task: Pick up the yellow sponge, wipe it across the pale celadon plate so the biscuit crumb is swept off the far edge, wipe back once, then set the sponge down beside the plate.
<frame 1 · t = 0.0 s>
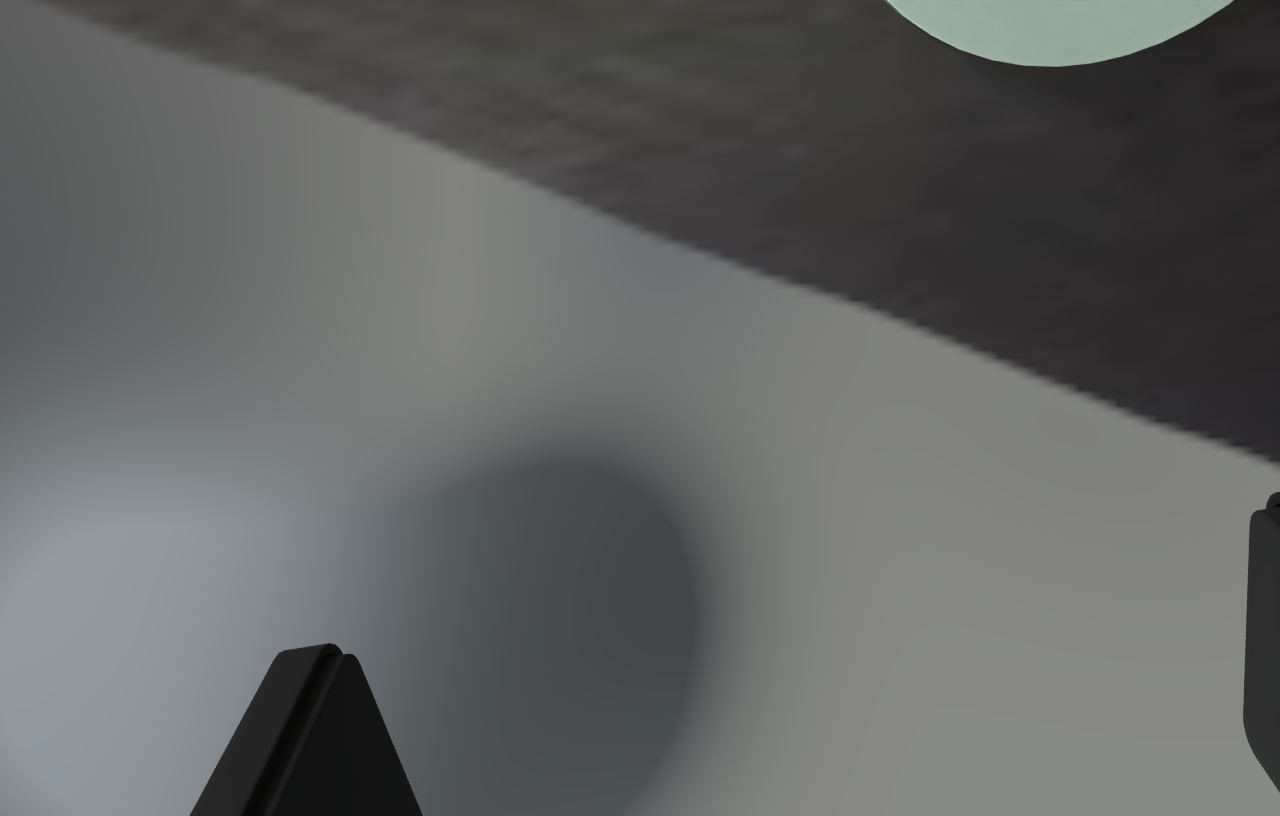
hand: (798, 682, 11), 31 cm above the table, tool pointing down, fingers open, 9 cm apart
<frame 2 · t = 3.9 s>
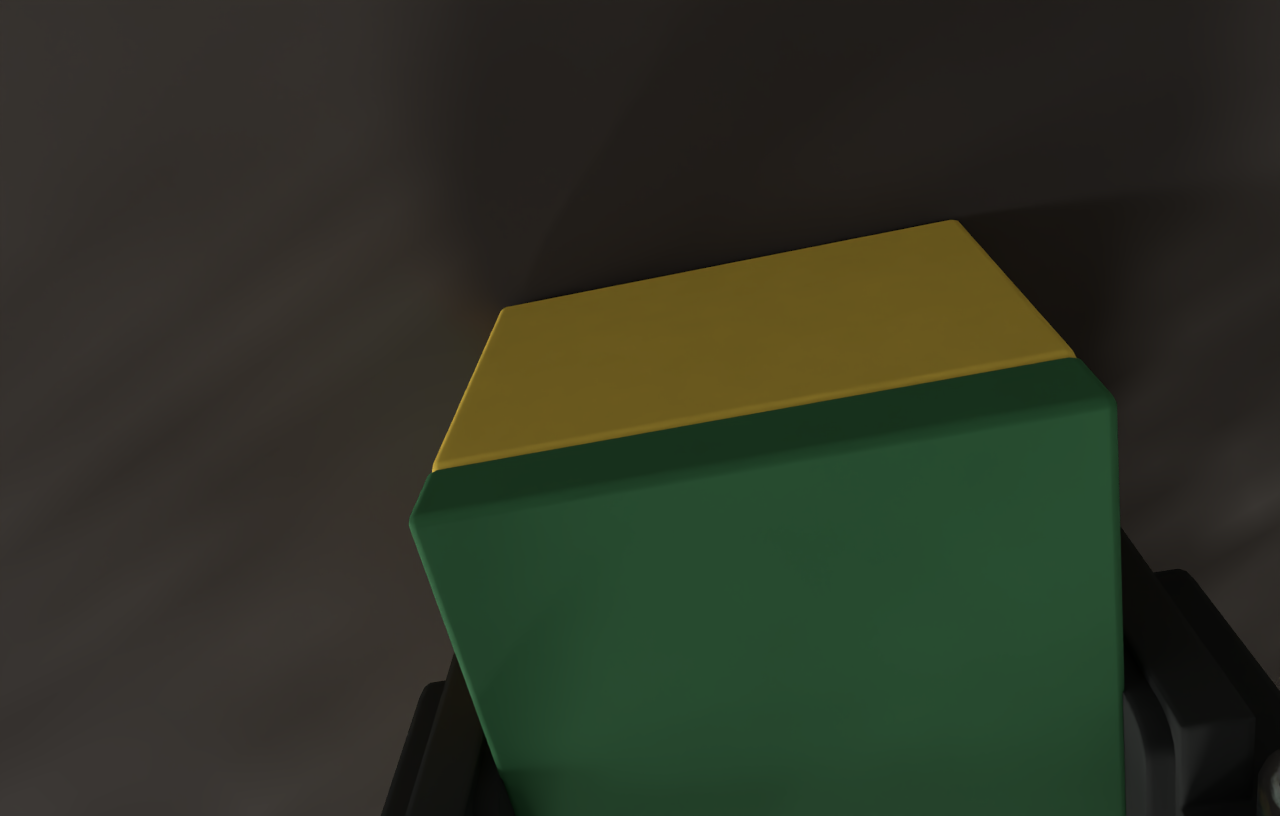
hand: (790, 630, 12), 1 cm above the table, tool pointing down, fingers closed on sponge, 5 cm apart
sponge: (780, 567, 13), on the table, touching gripper
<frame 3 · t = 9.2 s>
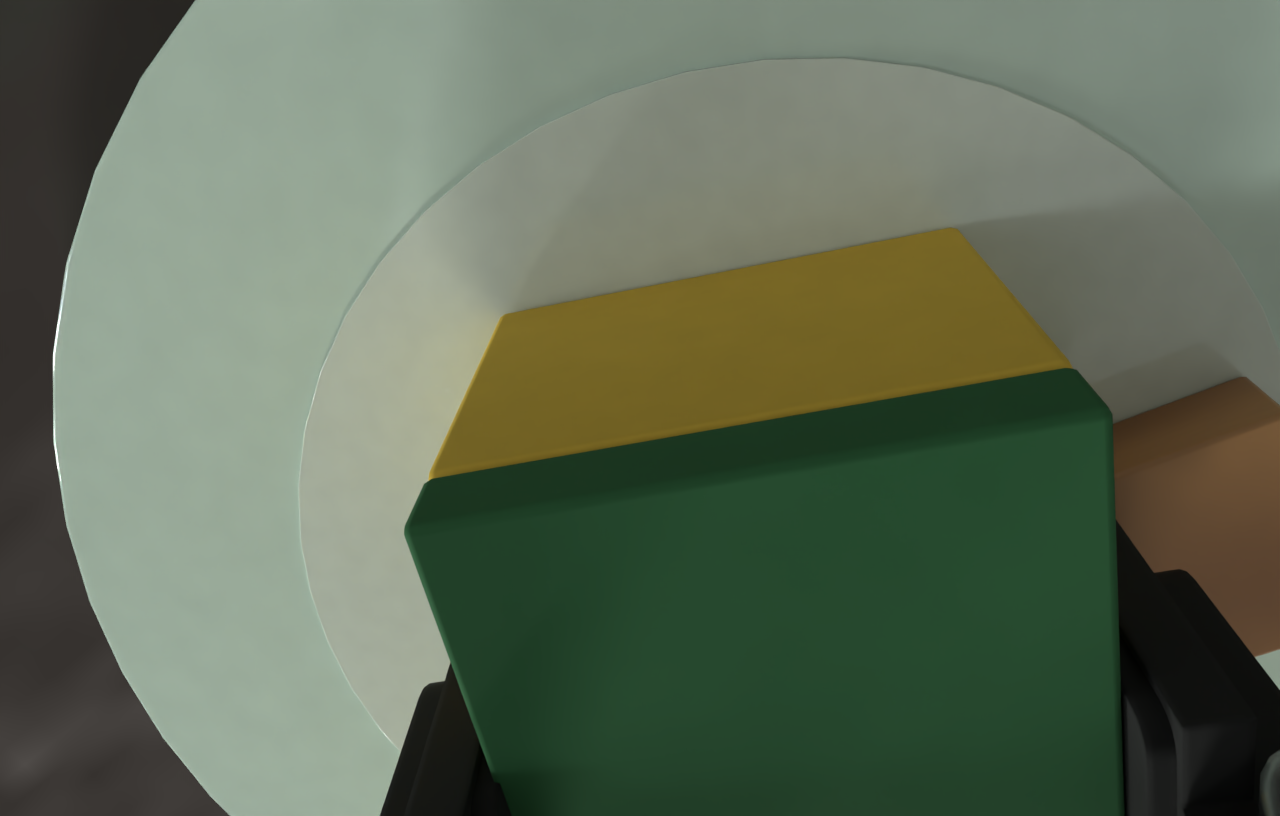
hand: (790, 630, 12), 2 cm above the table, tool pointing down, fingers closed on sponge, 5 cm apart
plate: (776, 515, 14), on the table
sponge: (780, 574, 13), point 1 cm above the table, touching crumb, gripper, plate
crumb: (1142, 526, 12), point 1 cm above the table, touching gripper, sponge
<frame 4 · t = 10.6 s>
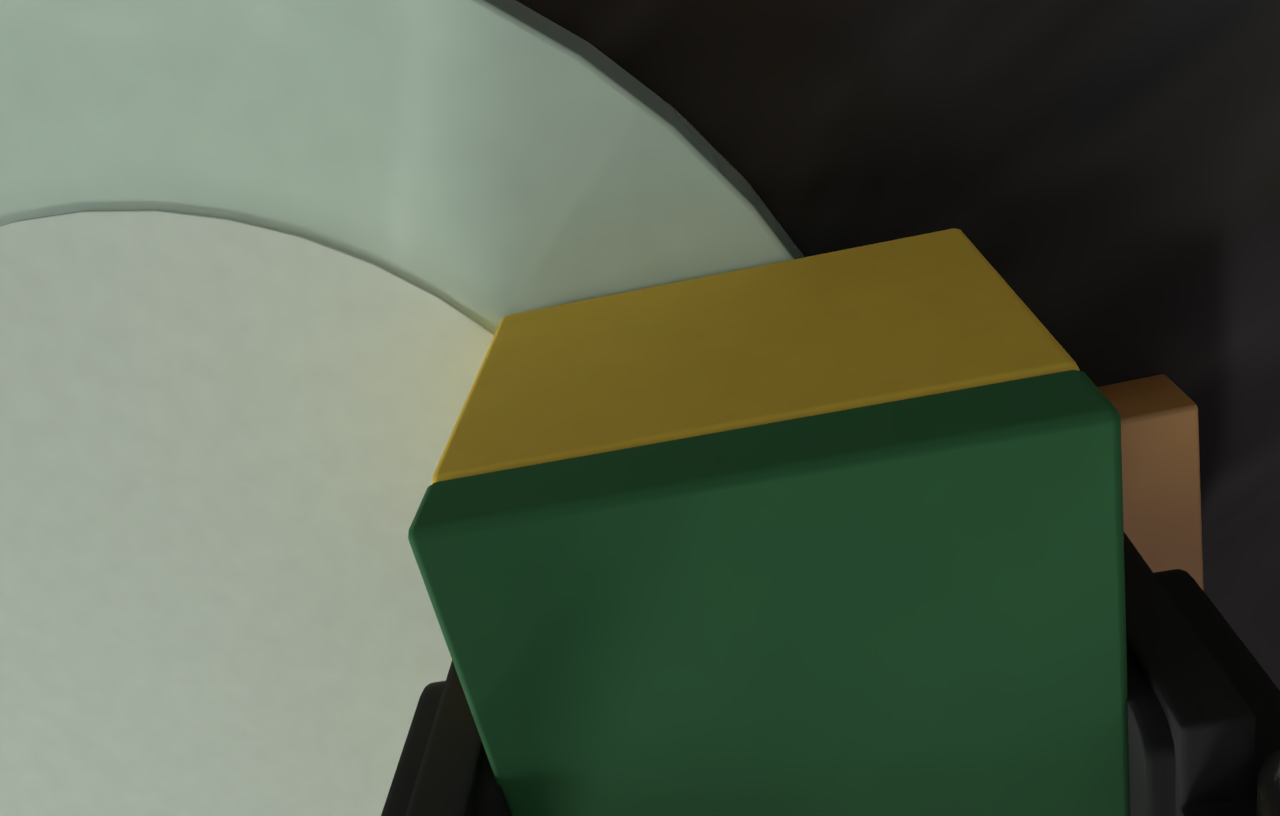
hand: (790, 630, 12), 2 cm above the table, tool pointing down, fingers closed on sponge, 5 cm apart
plate: (260, 602, 15), on the table
sponge: (782, 576, 13), point 1 cm above the table, touching gripper
crumb: (1051, 496, 14), on the table
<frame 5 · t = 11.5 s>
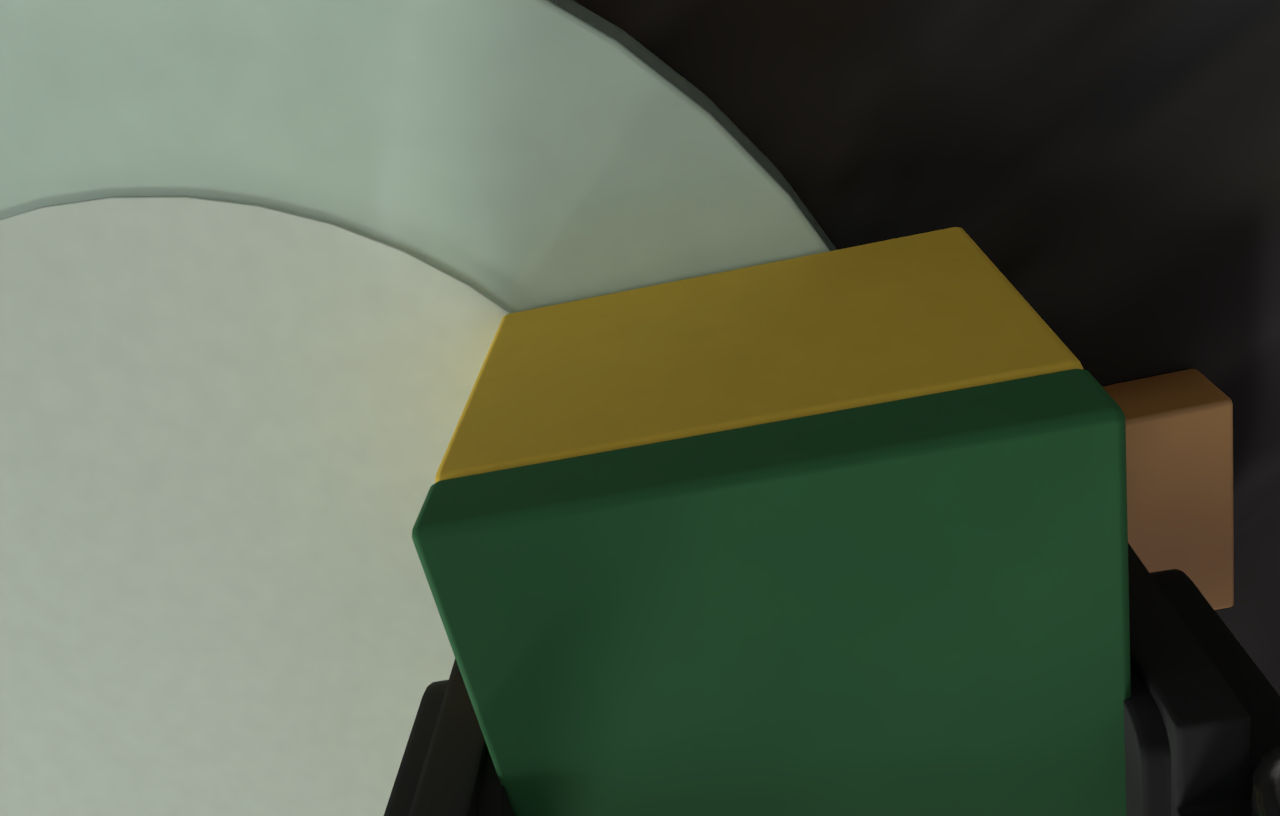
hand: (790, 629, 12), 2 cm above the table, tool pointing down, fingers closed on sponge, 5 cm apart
plate: (279, 594, 15), on the table
sponge: (782, 574, 13), point 1 cm above the table, touching gripper, plate
crumb: (1079, 491, 14), on the table
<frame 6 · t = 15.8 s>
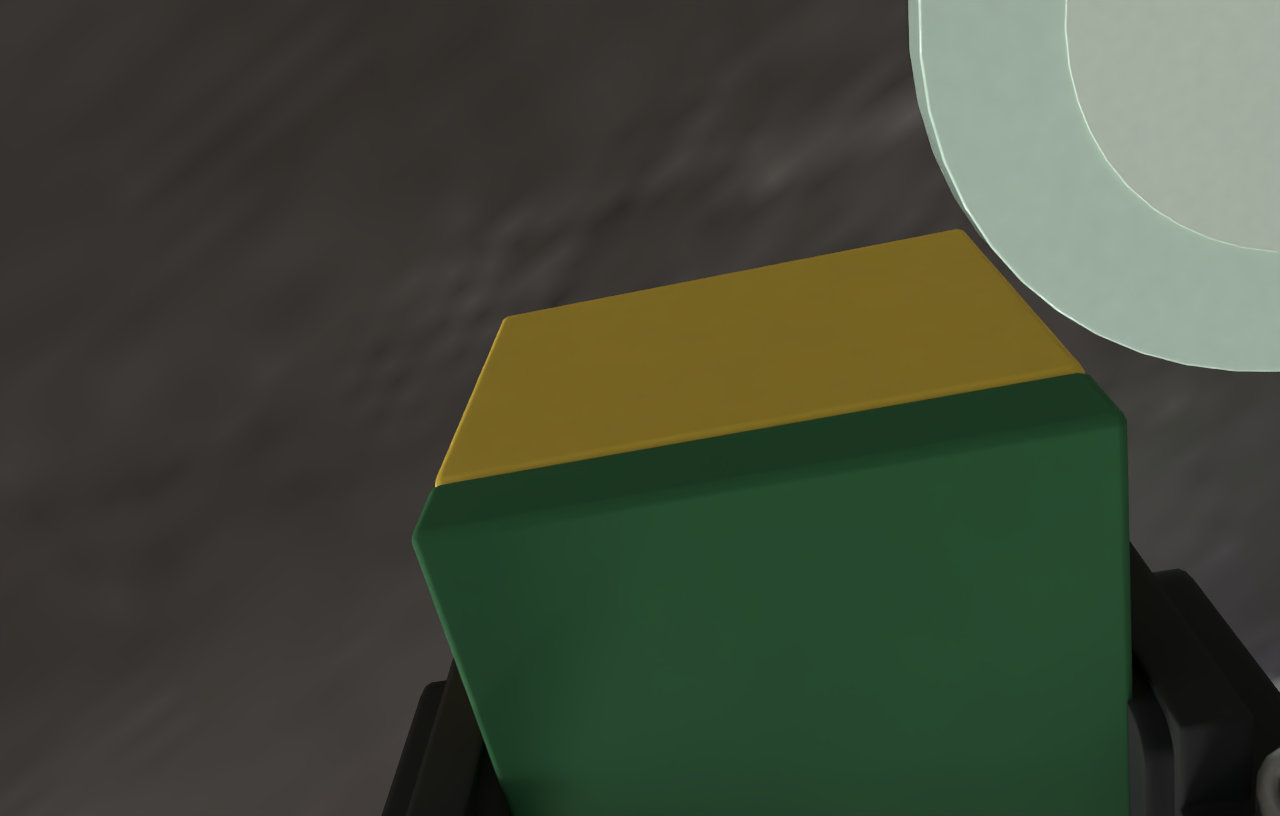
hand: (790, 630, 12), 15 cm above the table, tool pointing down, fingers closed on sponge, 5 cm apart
sponge: (784, 577, 13), point 14 cm above the table, touching gripper
when the fingers open (1 cm above the table, at t = 19.2 s): sponge stays where it is, on the table.
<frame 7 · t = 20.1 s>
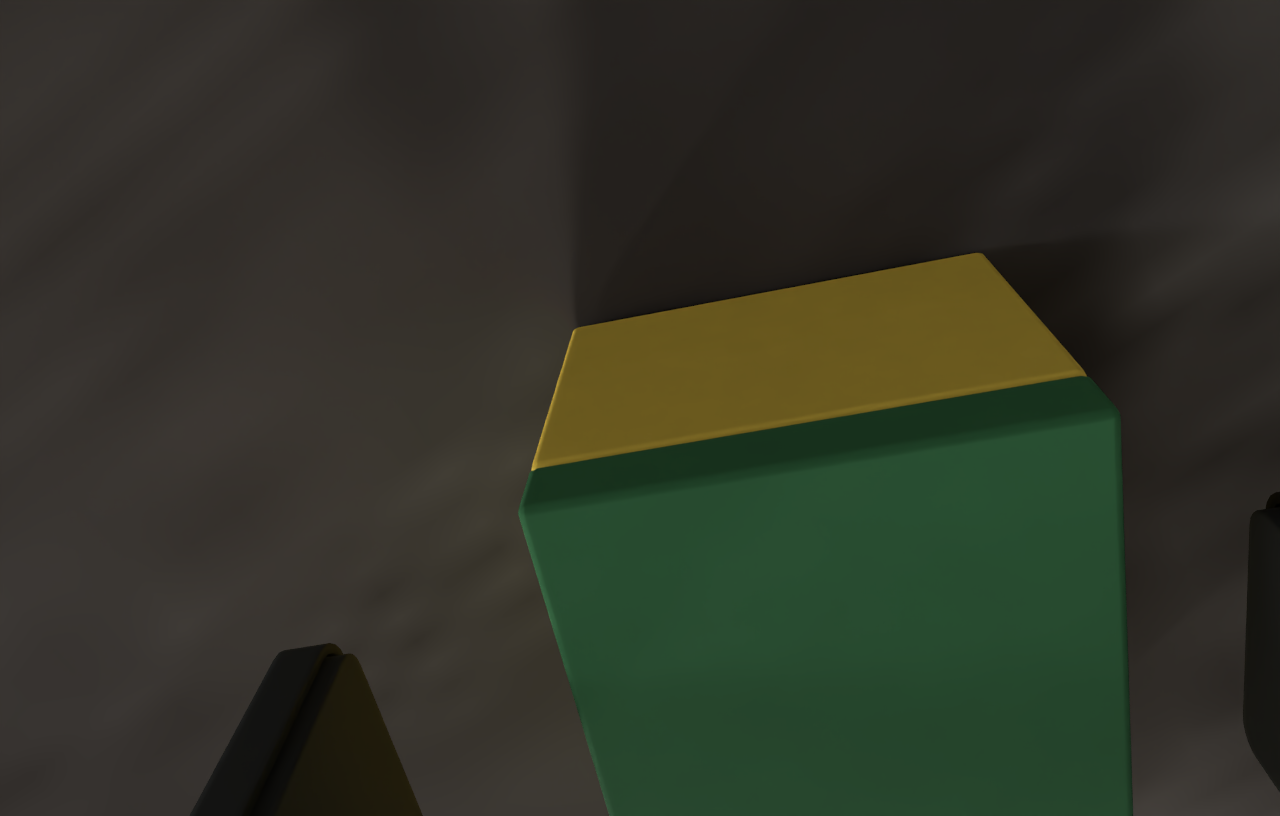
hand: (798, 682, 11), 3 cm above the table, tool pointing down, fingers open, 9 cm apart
sponge: (819, 564, 14), on the table
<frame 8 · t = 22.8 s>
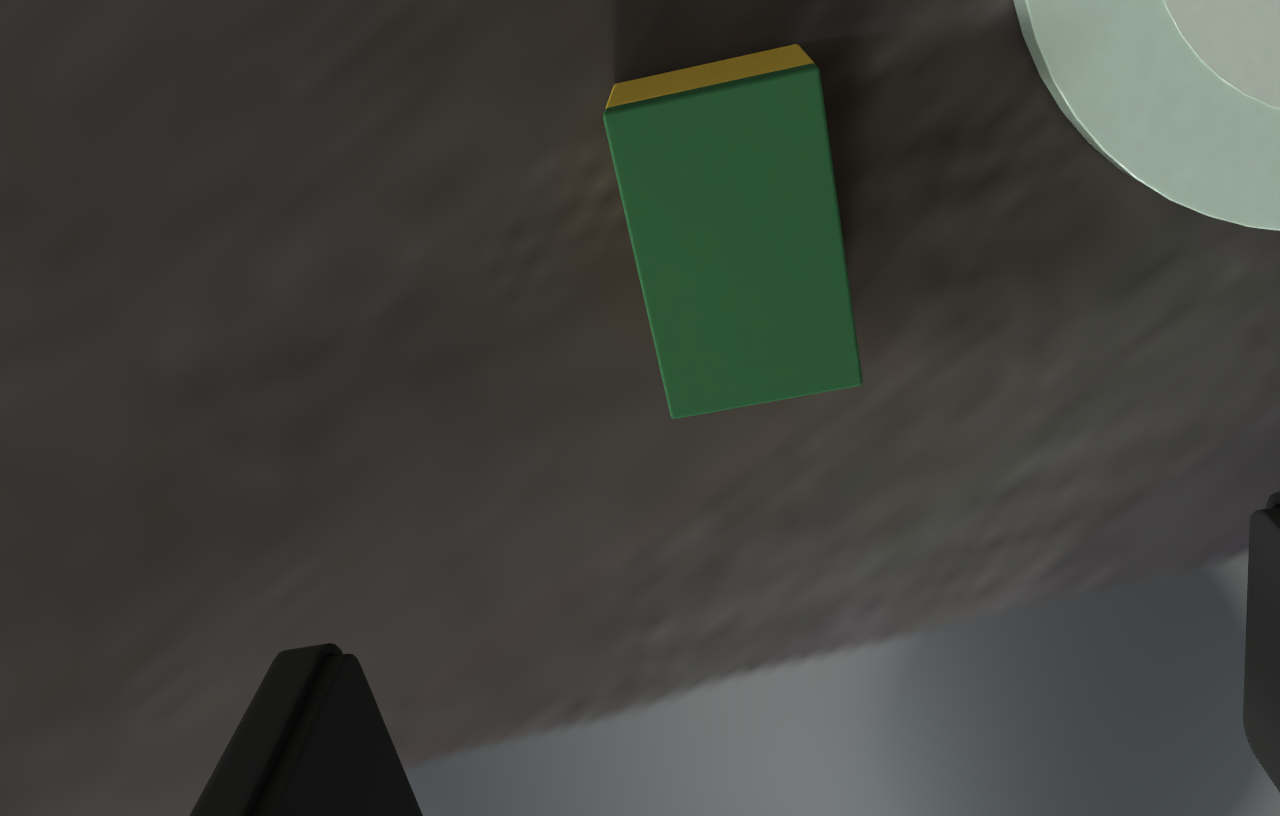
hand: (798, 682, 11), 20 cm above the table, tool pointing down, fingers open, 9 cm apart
sponge: (731, 209, 29), on the table
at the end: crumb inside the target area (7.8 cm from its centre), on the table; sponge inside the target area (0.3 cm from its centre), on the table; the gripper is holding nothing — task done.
